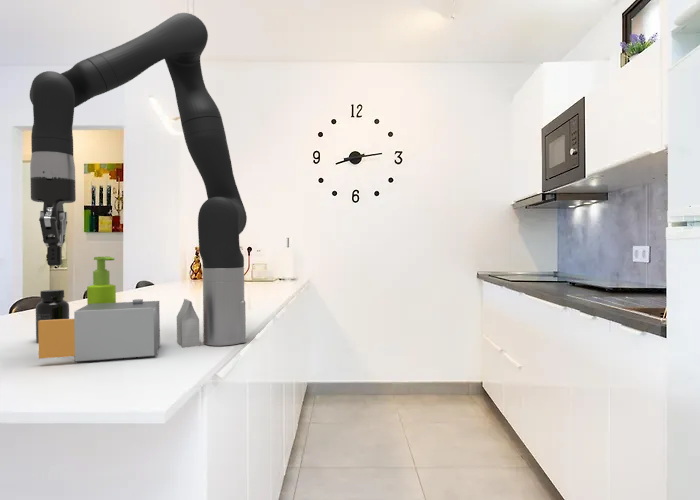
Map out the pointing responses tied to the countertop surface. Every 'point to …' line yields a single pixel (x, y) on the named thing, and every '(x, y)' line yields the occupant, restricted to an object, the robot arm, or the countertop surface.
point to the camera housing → (124, 305)
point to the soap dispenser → (101, 284)
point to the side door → (100, 334)
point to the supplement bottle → (51, 307)
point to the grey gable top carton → (187, 326)
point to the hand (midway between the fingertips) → (54, 265)
